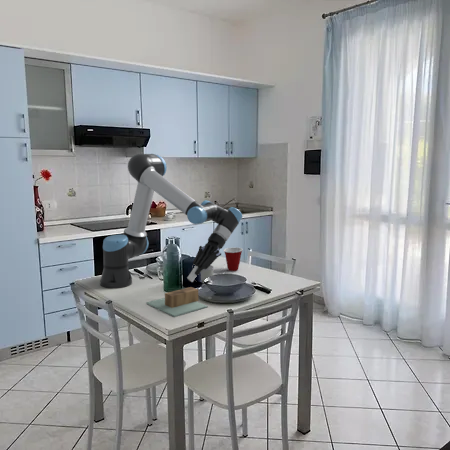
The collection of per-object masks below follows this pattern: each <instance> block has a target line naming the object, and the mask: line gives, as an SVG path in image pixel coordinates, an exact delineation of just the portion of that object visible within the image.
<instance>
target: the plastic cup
mask: <svg viewBox="0 0 450 450" xmlns="http://www.w3.org/2000/svg"><path fill="white" fill-rule="evenodd" d="M223 252H224V255H225V261H226V265H227V266H226V267H227V270H228V271H229V272H236V271H239V268H240V267H239V266H240V263H241V256H242V252H243V248H242V247H234V246H233V247H226V248H224V249H223Z"/></svg>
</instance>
